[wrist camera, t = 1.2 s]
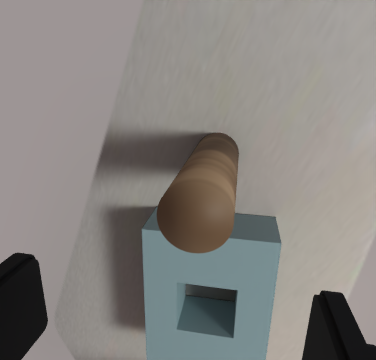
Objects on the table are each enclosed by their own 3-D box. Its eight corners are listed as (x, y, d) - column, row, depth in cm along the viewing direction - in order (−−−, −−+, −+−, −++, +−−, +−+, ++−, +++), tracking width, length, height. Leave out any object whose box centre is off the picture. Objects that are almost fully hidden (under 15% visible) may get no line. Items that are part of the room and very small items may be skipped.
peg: (196, 131, 28) (156, 179, 15) (240, 133, 27) (236, 185, 14) (195, 172, 29) (157, 249, 16) (237, 175, 29) (231, 257, 16)
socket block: (156, 206, 31) (141, 229, 27) (275, 217, 29) (281, 243, 25) (159, 326, 37) (146, 363, 32) (259, 342, 35) (262, 383, 30)
